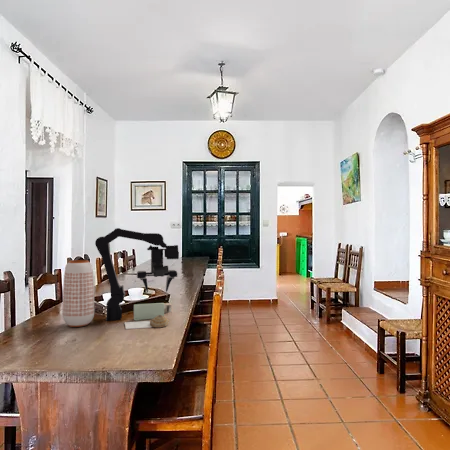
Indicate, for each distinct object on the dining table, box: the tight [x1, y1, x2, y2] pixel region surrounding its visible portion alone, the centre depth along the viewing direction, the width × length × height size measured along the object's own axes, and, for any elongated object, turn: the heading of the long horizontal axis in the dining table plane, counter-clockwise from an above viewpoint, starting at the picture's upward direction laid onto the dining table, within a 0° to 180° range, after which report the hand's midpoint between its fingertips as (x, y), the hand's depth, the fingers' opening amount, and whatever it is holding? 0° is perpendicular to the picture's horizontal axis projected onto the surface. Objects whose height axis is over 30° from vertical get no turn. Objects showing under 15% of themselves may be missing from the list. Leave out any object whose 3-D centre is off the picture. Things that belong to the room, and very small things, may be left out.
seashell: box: [150, 315, 170, 328], centre depth 171 cm, size 8×6×8 cm
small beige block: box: [164, 302, 172, 314], centre depth 197 cm, size 4×5×4 cm
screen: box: [133, 302, 165, 322], centre depth 182 cm, size 14×4×7 cm, turn 107°
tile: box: [124, 320, 153, 330], centre depth 170 cm, size 11×11×1 cm
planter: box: [61, 259, 95, 328], centre depth 172 cm, size 13×13×28 cm
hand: (156, 292), depth 186 cm, fingers open, 9 cm apart
